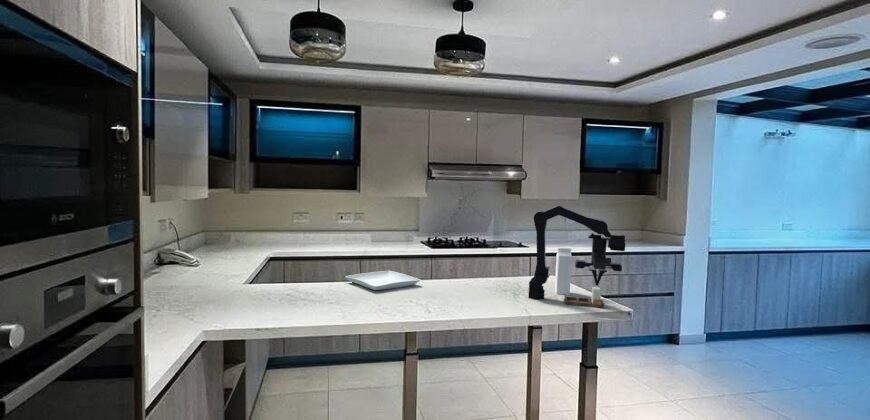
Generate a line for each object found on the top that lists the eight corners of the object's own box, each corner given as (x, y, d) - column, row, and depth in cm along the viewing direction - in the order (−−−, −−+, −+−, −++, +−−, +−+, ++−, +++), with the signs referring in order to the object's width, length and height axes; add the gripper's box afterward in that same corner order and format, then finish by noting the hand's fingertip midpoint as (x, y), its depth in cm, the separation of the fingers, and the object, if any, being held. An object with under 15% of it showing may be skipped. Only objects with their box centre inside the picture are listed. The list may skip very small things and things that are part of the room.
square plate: (389, 276, 254) (389, 269, 253) (421, 286, 233) (421, 279, 233) (344, 282, 236) (344, 274, 236) (374, 293, 215) (374, 285, 215)
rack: (564, 306, 205) (565, 297, 204) (563, 300, 215) (564, 291, 215) (604, 310, 201) (605, 300, 201) (601, 303, 212) (602, 294, 211)
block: (592, 305, 204) (593, 289, 204) (591, 302, 210) (592, 286, 210) (599, 306, 204) (600, 290, 203) (598, 302, 210) (599, 287, 209)
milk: (554, 292, 230) (556, 247, 228) (567, 293, 229) (569, 247, 228) (556, 295, 224) (558, 248, 222) (569, 296, 223) (572, 249, 222)
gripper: (577, 250, 200) (575, 287, 201) (625, 253, 196) (622, 291, 197) (575, 246, 210) (573, 282, 211) (620, 250, 206) (618, 285, 207)
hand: (596, 285), depth 206 cm, fingers closed
